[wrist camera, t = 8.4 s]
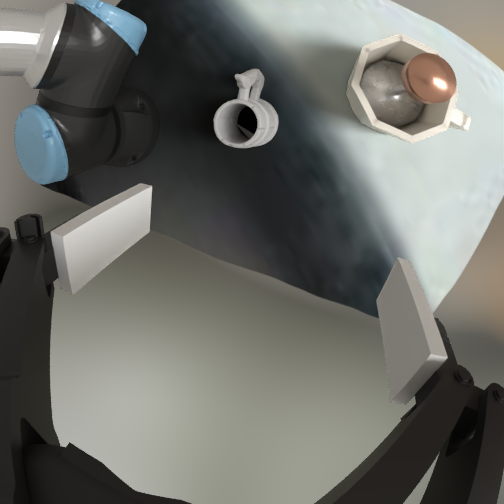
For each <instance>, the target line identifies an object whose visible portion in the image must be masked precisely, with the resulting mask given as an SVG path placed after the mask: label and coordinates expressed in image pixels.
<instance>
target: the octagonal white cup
mask: <svg viewBox="0 0 504 504" xmlns="http://www.w3.org/2000/svg"><path fill="white" fill-rule="evenodd" d="M422 53H432V54H436V55H438V56H440V57H441V58H442V56H441V54H440V53H439V52H437V51H435V50H434V49H432V48H430V47H428V46H426V45H424V44H422V43H420V42H418V41H415V40H413V39H411V38H409V37H407V36H405V35H402V34H400V33H399V34H396V35H393V36H390V37H387V38H384V39H381V40H379V41H376V42H373V43H370V44H368V45H365V46H363V47H362V49H361V51H360V54H359V56H358V58H357V61H356V63H355V65H354V68H353V71H352V73H351V75H350V77H349V80H348V84H347V91H346V95H347V97H348V100H349V103H350V106H351V108H352V110H353V112H354V113H355V115H356V116H357V117H358V119H359V120H360V122H361V123H362V124H364V125H366V126H368V127H369V128H371V129H373V130H375V131H377V132H380V133H384V134H387V135H390V136H392V137H395V138H398V139H401V140H404V141H407V142H410V143H415V142H417V141H420V140H422V139H425V138H427V137H430V136H432V135H435V134H438V133H440V132H443V131H445V130H448V128H454V129H460V130H466V131H468V128H469V125H470V122H471V118H470V117H469V116H467V115H466V114H464V113H462V112H461V111H459V110H457V109H456V108H455V105H456V101H457V98H458V94H459V91H458V89H457V87H456V90H455V93H454V95H453V96H452V97H451V98H450V99H449V100H448V101H446V102H442V103H432V104H424V103H423V107H422V109H421V111H420V113H419V114H418V116H417V117H416V118H415V119H413V120H412V121H410V122H408V123H405V124H400V125H394V124H388V123H385V122H382V121H380V120H378V119H377V118H376V116H375V114H374V112H373V110H372V108H371V106H370V104H369V102H368V100H367V98H366V97H365V95H364V93H363V91H362V89H361V87H360V83H361V79H362V77H363V75H364V73H365V72H366V71H367V69H368V68H370V67H371V66H372V65H374V64H376V63H379V62H383V61H391V62H396V63H399V64H402V65H405V64H406V63H407V62H408V61H410V60H411V59H413V58H414V57H416V56H417V55H419V54H422Z"/></svg>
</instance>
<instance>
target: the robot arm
mask: <svg viewBox="0 0 504 504" xmlns="http://www.w3.org/2000/svg"><path fill="white" fill-rule="evenodd" d="M146 32H147V28H146V25H145V23H144V22H143V21H141V20H140V19H138V18H137V17H135V16H133V15H131V14H130V13H128V12H126V11H124V10H121V9H119V8H117V7H115V6H113V5H110V4H108V3H103V2H102V1H99V0H76V1H75V2H74V5H73V4H68V3H60V4H59V5H57V6H55V7H53V8H51V9H50V10H48V11H38V10H28V9H16V8H0V76H22V77H23V78H24V79H25V80H26V82H27V84H28V85H29V87H30V88H33V89H40V91H39V94H38V97H37V101H36V104H32V105H29V106H28V107H26V108H24V109H23V111H22V112H21V113H20V114H19V116H18V118H17V122H16V125H15V136H14V137H15V147H16V153H17V156H18V159H19V162H20V164H21V167H22V168H23V170H24V172H25V173H26V174H27V176H28V177H29V178H30V179H31V180H33V181H34V182H36V183H39V184H48V183H52V182H55V181H61V180H64V179H65V178H68V177H70V176H73V175H75V174H78V173H81V172H83V171H86V170H89V169H91V168H94V167H97V166H99V165H102V164H103V165H110V166H116V167H126V166H130V165H133V164H136V163H138V162H140V161H142V160H143V159H145V158H146V157H147V156H148V155H149V153H150V152H151V151H152V149H153V147H154V145H155V143H156V140H157V137H158V131H159V118H158V113H157V110H156V107H155V105H154V103H153V101H152V100H151V99H150V98H149V96H148V95H146V94H145V93H144V92H142V91H140V90H137V89H131V88H122V89H120V87H121V85H122V82H123V80H124V78H125V76H126V74H127V72H128V70H129V68H130V66H131V64H132V62H133V60H134V58H135V56H137V55H138V50H139V47H140V45H141V43H142V41H143V39H144V37H145V35H146ZM151 197H152V186H150V185H146V184H142V183H140V184H138V185H136V186H134V187H132V188H130V189H128V190H126V191H124V192H122V193H120V194H118V195H116V196H114V197H112V198H110V199H108V200H106V201H104V202H102V203H100V204H98V205H97V206H95V207H93V208H91V209H89V210H88V211H85V212H84V213H82V214H79V215H76V216H74V217H73V218H71V219H69V221H66V222H64V223H63V224H60V225H59V226H57V227H55V228H54V229H52V230H50V231H49V232H47V233H46V234H44V229H43V222H42V216H40V215H39V214H27V215H24V216H21V217H19V218H18V219H16V221H15V222H14V223H15V230H16V235H17V240H16V239H11V237H10V231H9V229H7V228H1V227H0V504H191V503H188V502H185V501H182V500H177V499H171V498H165V497H160V496H155V495H150V494H145V493H141V492H137V491H135V490H133V489H132V488H131V487H129V486H128V485H127V484H126V483H124V482H123V481H122V480H121V479H120V478H118V477H117V476H116V475H115V474H114V473H113V472H111V470H109V469H108V468H107V467H106V466H105V465H104V464H103V463H102V462H100V461H98V460H97V459H95V458H93V457H92V456H90V455H88V454H87V453H85V452H84V451H82V450H80V449H79V448H77V447H76V446H74V445H73V444H71V443H69V444H68V445H67V447H62V446H60V443H59V440H58V437H57V434H56V432H55V430H54V426H53V420H52V409H51V394H50V334H51V317H52V306H53V297H54V284H53V281H55V280H56V279H57V278H59V283H60V288H61V289H62V290H64V291H65V292H67V293H69V294H71V295H74V294H75V293H76V292H77V291H78V290H79V289H80V288H82V287H83V286H84V285H85V284H86V283H87V282H88V281H90V280H91V279H92V278H93V277H94V276H95V275H97V274H98V273H99V272H100V271H101V270H103V269H104V268H105V267H106V266H107V265H108V264H110V263H111V262H112V261H113V260H114V259H116V258H117V257H118V256H119V255H121V254H122V253H123V252H124V251H126V250H127V249H128V248H129V247H131V246H132V245H133V244H135V243H136V242H137V241H138V240H140V239H141V238H142V237H143V236H144V235H146V234H147V233H148V232H150V213H151ZM376 301H377V307H378V313H379V319H380V325H381V331H382V337H383V345H384V352H385V360H386V367H387V377H388V387H389V399H390V402H392V403H398V404H407V403H408V402H409V401H410V400H411V399H412V398H413V397H414V396H415V399H416V404H415V405H414V406H413V407H412V408H411V409H410V410H409V411H408V412H407V413H406V414H405V415H404V416H403V417H402V418H401V421H400V423H399V424H398V425H397V426H396V427H395V428H394V429H393V431H392V432H391V433H390V434H389V435H388V436H387V437H386V438H385V439H384V441H383V442H382V443H381V444H380V445H379V446H378V447H377V448H376V449H375V450H374V451H373V452H372V453H371V454H370V455H369V456H368V457H367V458H366V459H365V460H364V461H363V462H362V463H361V464H360V465H359V466H358V467H357V468H356V469H355V470H354V471H352V472H351V474H349V475H348V476H347V477H346V478H345V479H344V480H342V481H341V482H340V483H339V484H338V485H337V486H335V487H334V488H333V489H332V490H331V491H330V492H328V493H327V494H326V495H325V496H323V497H322V498H321V499H320V500H318V501H317V502H316V503H314V504H403V503H404V501H405V500H406V499H407V498H408V496H409V495H410V494H411V493H412V491H413V490H414V488H415V487H416V486H417V484H418V483H419V482H420V480H421V479H422V478H423V476H424V475H425V473H426V472H427V470H428V469H429V468H430V466H431V465H432V463H433V462H434V460H435V458H436V457H437V455H438V454H439V456H438V459H437V462H436V465H435V467H434V470H433V473H432V476H431V478H430V481H429V483H428V486H427V489H426V491H425V493H424V495H423V498H422V500H421V502H420V504H496V503H497V499H498V495H499V490H500V485H501V481H502V475H503V469H504V388H503V387H501V386H500V385H499V384H497V383H491V384H490V385H489V386H488V387H487V388H486V389H485V390H482V389H480V388H478V387H476V386H474V381H473V377H472V376H471V374H470V373H469V371H468V370H467V369H466V368H464V367H463V366H461V365H458V364H457V362H456V358H455V355H454V352H453V350H452V347H451V344H450V341H449V338H448V337H447V333H446V330H445V328H444V326H443V325H442V323H441V322H440V321H439V319H438V318H434V316H433V314H432V311H431V309H430V306H429V303H428V301H427V299H426V296H425V294H424V291H423V289H422V287H421V284H420V282H419V280H418V277H417V275H416V273H415V271H414V268H413V266H412V264H411V262H410V261H408V260H405V259H402V258H399V257H398V258H397V260H396V262H395V264H394V266H393V268H392V270H391V272H390V274H389V277H388V279H387V281H386V283H385V285H384V287H383V289H382V291H381V292H380V294H379V296H378V298H377V300H376ZM439 452H440V453H439Z"/></svg>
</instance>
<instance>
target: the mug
mask: <svg viewBox="0 0 504 504" xmlns="http://www.w3.org/2000/svg"><path fill="white" fill-rule="evenodd" d="M235 79H236V80H237V85H238V86H239V94H238V98H237V99H235V100H231V101H228V102H227V103H224V104H223V105H222V106H220V107H219V109H218V110H217V111H216V113H215V116H214V118H215V119H214V120H213V121H214V130H215V133H216V135H217V137H218V139H219V140H220V141H221V142H223V143H224V144H226V145H229V146H232V147H236V148H249V147H253V146H260V145H263V144H265V143H267V142H269V141H270V140H271V139H272V138H273V137H274V135H275V133H276V131H277V128H278V115H277V113H276V111H275V109H274V108H273V107H272V106H271V105H270V104H269V103H268V102H266V101H265V100H262V99H261V98H259V97H260V93H261V90H262V88H263V85H264V76H263V74H262V73H261V72H260V70H259V69H251V70H249V71H246V72H245V73H242V74H236V75H235ZM251 86H252V89H251V93H250V96H249V91H250V87H251ZM248 97H249V98H248ZM246 106H248V107H250V108H251V109H252V110H253V111H254V113H255V115H256V117H257V130H256V132H255V134H252V133H251V132H249V131H248V130H246V129H245V128H243V127H241V126H240V125H238V124H237V120H238V116H239V113H240V111H241V110H242V109H243V108H244V107H246ZM238 127H239V128H240V129H241V130H242V131H243V132H244V133H245V135H246V136H247V137H248V138H249V139H248V138H246V137H245V136H244V135H243V134H242V133H241V132H240V130H239V128H238Z"/></svg>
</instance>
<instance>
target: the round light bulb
mask: <svg viewBox="0 0 504 504" xmlns="http://www.w3.org/2000/svg"><path fill="white" fill-rule="evenodd" d="M360 87H361V89H362V91H363V93H364V95H365V97H366V98H367V100H368V102H369V104H370V106H371V108H372V110H373V112H374V114H375V116H376V118H377V119H378V120H380V121H382V122H385V123H388V124H394V125H400V124H405V123H408V122H410V121H412V120H413V119H415V118H416V117H417V116H418V114H419V113H420V111H421V109H422V107H423V103H424V104H432V103H442V102H446V101H448V100H449V99H450V98H451V97H452V96H453V95H454V93H455V90H456V77H455V74H454V72H453V70H452V68H451V66H450V65H449V64H448V63H447V62H446V61H445V60H444V59H443V58H441V57H440V56H438V55H436V54H432V53H422V54H419V55H417V56H416V57H414V58H413V59H411V60H410V61H408V62H407V63H406V64H405V65H402V64H399V63H396V62H391V61H383V62H379V63H376V64H374V65H372V66H371V67H370V68H368V69H367V71H366V72H365V73H364V75H363V77H362V79H361V83H360Z"/></svg>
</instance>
